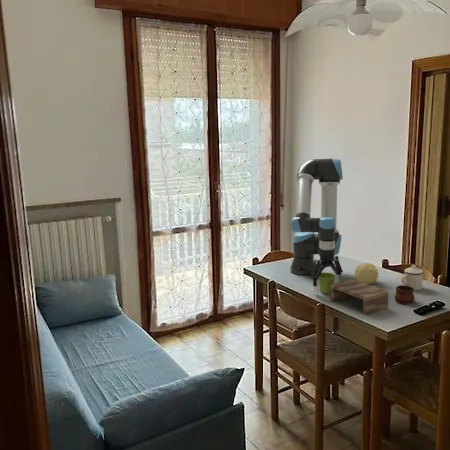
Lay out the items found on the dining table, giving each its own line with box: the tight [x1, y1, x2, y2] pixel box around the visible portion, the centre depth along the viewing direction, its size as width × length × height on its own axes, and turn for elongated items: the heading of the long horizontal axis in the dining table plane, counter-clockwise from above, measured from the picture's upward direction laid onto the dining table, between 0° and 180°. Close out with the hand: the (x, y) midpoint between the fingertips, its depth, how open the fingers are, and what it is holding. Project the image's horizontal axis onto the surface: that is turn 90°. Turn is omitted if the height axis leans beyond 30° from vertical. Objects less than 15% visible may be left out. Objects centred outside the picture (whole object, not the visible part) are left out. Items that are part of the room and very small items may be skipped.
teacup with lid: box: [401, 264, 424, 291], centre depth 229 cm, size 12×9×12 cm
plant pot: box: [317, 272, 336, 295], centre depth 227 cm, size 9×9×9 cm
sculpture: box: [354, 262, 380, 285], centre depth 239 cm, size 12×12×11 cm
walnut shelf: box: [329, 278, 390, 316], centre depth 210 cm, size 22×14×8 cm, turn 32°
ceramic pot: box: [394, 284, 415, 305], centre depth 212 cm, size 18×18×7 cm
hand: (326, 289), depth 228 cm, fingers open, 13 cm apart
